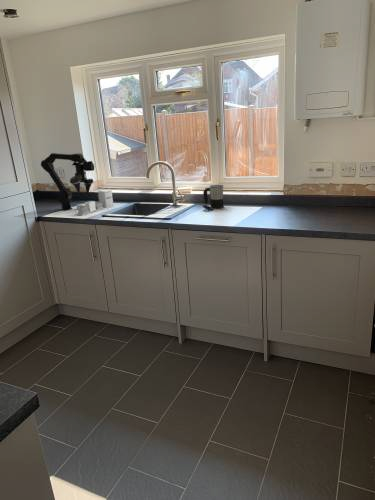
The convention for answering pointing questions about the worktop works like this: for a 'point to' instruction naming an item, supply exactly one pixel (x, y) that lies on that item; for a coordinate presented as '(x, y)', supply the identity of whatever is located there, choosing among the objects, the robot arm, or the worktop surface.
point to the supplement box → (106, 198)
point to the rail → (84, 209)
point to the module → (90, 205)
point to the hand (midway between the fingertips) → (83, 192)
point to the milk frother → (214, 197)
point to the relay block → (79, 205)
